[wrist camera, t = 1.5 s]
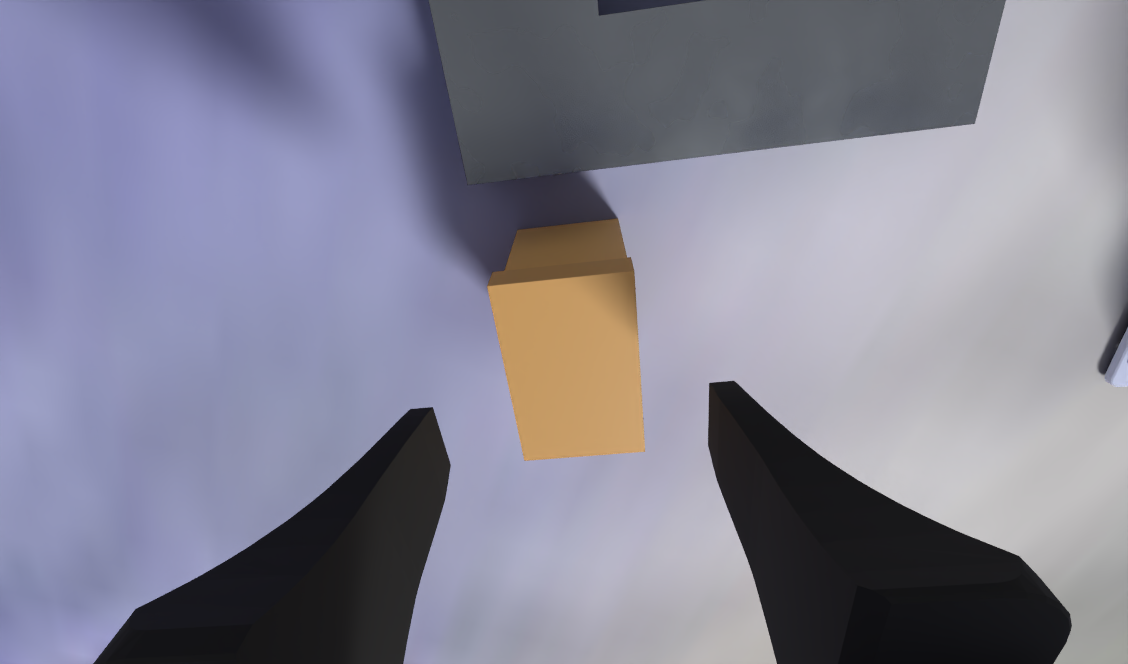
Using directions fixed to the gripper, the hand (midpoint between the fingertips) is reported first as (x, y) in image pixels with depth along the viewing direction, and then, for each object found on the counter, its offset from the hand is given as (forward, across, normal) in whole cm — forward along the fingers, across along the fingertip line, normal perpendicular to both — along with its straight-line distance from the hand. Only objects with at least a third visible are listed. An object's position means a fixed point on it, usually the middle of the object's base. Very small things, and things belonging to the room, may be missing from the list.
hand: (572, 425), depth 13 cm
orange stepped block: (+9, 0, 0) cm, 9 cm away
